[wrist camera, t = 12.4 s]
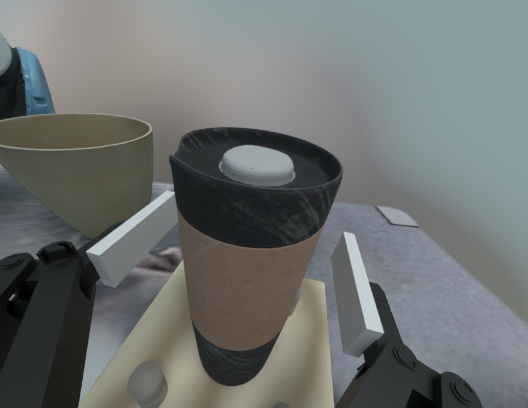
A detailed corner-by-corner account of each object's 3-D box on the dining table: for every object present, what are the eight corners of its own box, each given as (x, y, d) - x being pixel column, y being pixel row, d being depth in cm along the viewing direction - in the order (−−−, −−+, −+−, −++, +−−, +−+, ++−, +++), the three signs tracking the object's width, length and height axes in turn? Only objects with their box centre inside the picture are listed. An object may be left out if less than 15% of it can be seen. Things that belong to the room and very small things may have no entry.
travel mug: (285, 333, 21) (364, 157, 10) (238, 417, 15) (297, 229, 4) (233, 291, 24) (248, 122, 13) (178, 347, 18) (124, 136, 7)
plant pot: (76, 207, 34) (26, 108, 25) (169, 199, 39) (155, 116, 31) (30, 279, 23) (-88, 147, 14) (169, 254, 28) (147, 148, 20)
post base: (35, 477, 12) (-16, 473, 10) (191, 252, 29) (188, 228, 26) (343, 600, 11) (386, 638, 8) (322, 286, 27) (333, 264, 25)
